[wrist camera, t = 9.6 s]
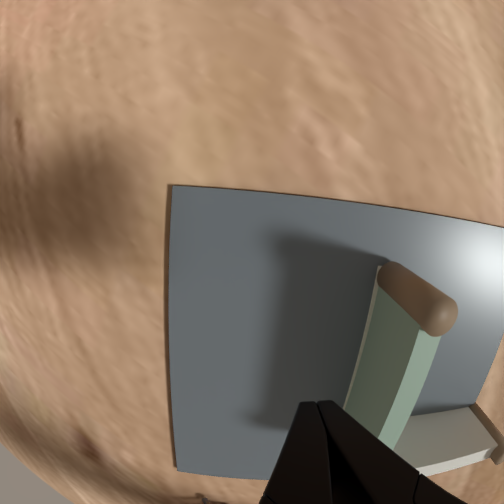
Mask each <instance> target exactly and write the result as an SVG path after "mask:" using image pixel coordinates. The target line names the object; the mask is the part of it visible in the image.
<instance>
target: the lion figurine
mask: <svg viewBox="0 0 504 504" xmlns="http://www.w3.org/2000/svg"><path fill="white" fill-rule="evenodd" d="M202 501H203V503H204V504H211V503H210V501H209V500H208V499H207V498H202Z"/></svg>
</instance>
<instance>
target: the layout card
mask: <svg viewBox="0 0 504 504" xmlns="http://www.w3.org/2000/svg"><path fill="white" fill-rule="evenodd" d="M391 261H394V262H398V263H400V264H401V265H403V266H404V267H406V268H407V269H409V270H410V271H412V272H413V273H415V274H416V275H418V276H419V277H421V278H422V279H424V280H425V281H427V282H428V283H430V284H431V285H433V286H434V287H436V288H437V289H439V290H440V291H442V292H443V293H445V294H446V295H448V296H449V297H451V298H452V299H453V300H454V301H455V302H456V303H457V306H458V316H457V319H456V322H455V324H454V325H453V327H452V328H451V329H450V330H449V331H448V332H447V333H445V334H444V335H442V336H441V338H440V341H439V344H438V347H437V350H436V353H435V356H434V359H433V361H432V364H431V367H430V369H429V372H428V375H427V377H426V380H425V382H424V385H423V387H422V389H421V392H420V394H419V397H418V399H417V401H416V403H415V406H414V408H413V410H412V412H411V415H410V416H416V415H423V414H430V413H437V412H443V411H449V410H455V409H460V408H465V407H469V406H470V405H472V404H474V403H475V401H476V399H477V397H478V395H479V393H480V390H481V388H482V386H483V384H484V382H485V379H486V377H487V375H488V372H489V370H490V368H491V365H492V363H493V360H494V358H495V355H496V352H497V350H498V347H499V344H500V342H501V339H502V336H503V333H504V228H501V227H497V226H492V225H487V224H482V223H477V222H472V221H467V220H461V219H456V218H450V217H445V216H439V215H434V214H428V213H422V212H416V211H409V210H403V209H397V208H390V207H383V206H377V205H369V204H362V203H355V202H347V201H339V200H331V199H323V198H315V197H306V196H297V195H287V194H277V193H267V192H256V191H245V190H233V189H220V188H206V187H190V186H173V188H172V204H171V223H170V248H169V358H170V382H171V401H172V416H173V430H174V441H175V452H176V462H177V471H180V472H187V473H194V474H201V475H209V476H218V477H228V478H240V479H257V480H269V479H270V477H271V474H272V472H273V470H274V467H275V465H276V462H277V460H278V457H279V455H280V452H281V450H282V447H283V444H284V442H285V439H286V437H287V434H288V431H289V429H290V426H291V423H292V421H293V418H294V415H295V412H296V409H297V407H298V404H299V402H302V401H314V402H317V401H320V400H333V401H334V402H335V403H337V404H338V405H339V406H340V407H341V408H342V409H343V410H345V407H346V404H347V401H348V398H349V395H350V392H351V389H352V385H353V382H354V379H355V376H356V372H357V369H358V366H359V362H360V359H361V355H362V352H363V348H364V344H365V341H366V337H367V333H368V329H369V325H370V321H371V317H372V313H373V309H374V304H375V300H376V296H377V291H378V283H377V274H378V271H379V270H380V268H381V267H382V266H383V265H384V264H386V263H388V262H391Z"/></svg>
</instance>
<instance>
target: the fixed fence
mask: <svg viewBox="0 0 504 504" xmlns="http://www.w3.org/2000/svg"><path fill="white" fill-rule="evenodd" d="M393 451H394V452H395V453H397V454H398V455H399V456H400V457H402V458H403V459H404V460H405V461H407V462H408V463H409V464H410V465H412V466H413V467H414V468H415V469H417V470H418V471H419V472H420V474H423V475H425V476H430V475H434V474H438V473H442V472H445V471H449V470H453V469H456V468H460V467H463V466H466V465H469V464H472V463H476V462H479V461H481V460H484V459H487V458H491V459H492V460H493V462H494V463H495V465H498V464H500V463H502V462H503V461H504V437H503V435H502V434H501V433H500V432H499V430H498V429H497V428H496V427H495V425H494V424H493V423H492V422H491V420H490V419H489V418H488V417H487V416H486V414H485V413H484V412H483V411H482V410H481V408H480V407H479V406H478V405H477V404H476V402H475V403H474V404H472V405H470V406H469V407H465V408H460V409H455V410H449V411H443V412H437V413H430V414H423V415H416V416H410V417H409V419H408V421H407V423H406V425H405V427H404V429H403V431H402V433H401V435H400V437H399V439H398V441H397V443H396V445H395V447H394V449H393ZM420 474H419V475H420Z"/></svg>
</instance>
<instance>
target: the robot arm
mask: <svg viewBox="0 0 504 504" xmlns="http://www.w3.org/2000/svg"><path fill="white" fill-rule="evenodd" d="M419 474H420V472H419V471H418V470H417V469H415V468H414V467H413V466H412V465H410V464H409V463H408V462H407V461H405V460H404V459H403V458H402V457H400V456H399V455H398V454H397V453H395V452H394V451H393V450H392V449H390V448H389V447H388V446H387V445H385V444H384V443H383V442H382V441H380V440H379V439H378V438H377V437H376V436H374V435H373V434H372V433H371V432H370V431H368V430H367V429H366V428H365V427H364V426H362V425H361V424H360V423H359V422H358V421H356V420H355V419H354V418H353V417H352V416H351V415H349V414H348V413H347V412H346V411H345V410H343V409H342V408H341V407H340V406H339V405H338V404H337V403H335V402H334V401H333V400H320V401H317V402H314V401H302V402H299V404H298V407H297V409H296V412H295V415H294V418H293V421H292V423H291V426H290V429H289V431H288V434H287V437H286V439H285V442H284V444H283V447H282V450H281V452H280V455H279V457H278V460H277V462H276V465H275V467H274V470H273V472H272V474H271V477H270V479H269V482H268V484H267V486H266V489H265V491H264V493H263V496H262V497H261V499H260V502H259V504H467V503H466V502H464V501H462V500H460V499H459V498H457V497H455V496H454V495H452V494H450V493H449V492H447V491H445V490H444V489H443V488H441V487H440V486H438V485H437V484H435V483H434V482H433V481H431V480H430V479H429V478H427V477H426V476H425V475H423V474H420V475H419Z"/></svg>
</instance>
